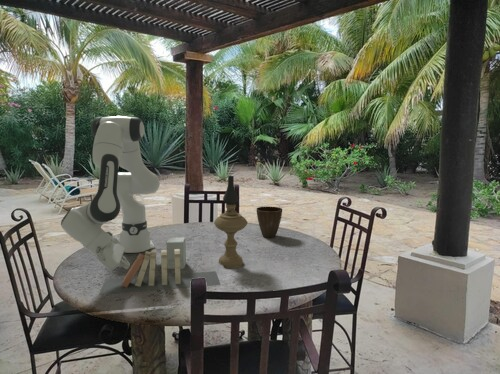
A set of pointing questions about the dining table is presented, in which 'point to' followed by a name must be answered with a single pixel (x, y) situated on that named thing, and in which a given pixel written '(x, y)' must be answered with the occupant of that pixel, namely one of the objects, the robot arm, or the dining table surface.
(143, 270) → the domino
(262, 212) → the plant pot
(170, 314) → the dining table surface
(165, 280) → the domino
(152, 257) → the domino
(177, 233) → the dining table surface
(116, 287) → the mat
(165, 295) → the dining table surface
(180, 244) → the supplement box
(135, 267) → the domino
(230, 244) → the oil lamp
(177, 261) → the domino
